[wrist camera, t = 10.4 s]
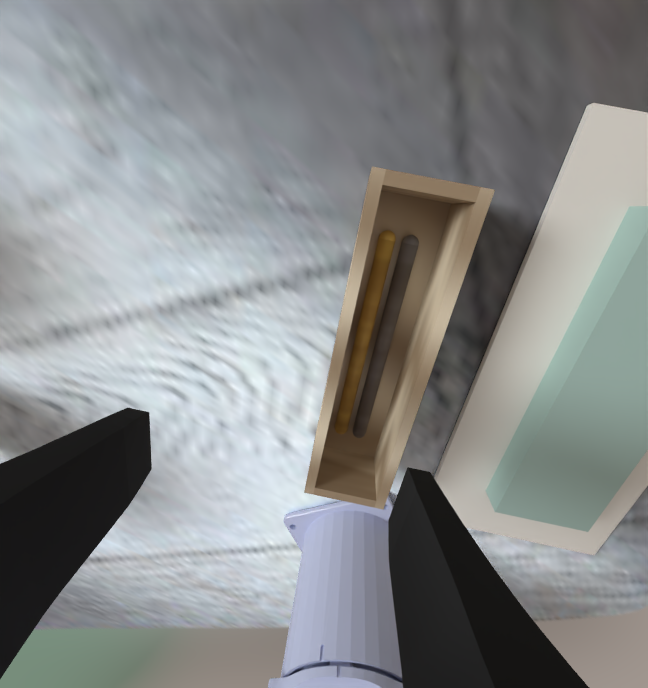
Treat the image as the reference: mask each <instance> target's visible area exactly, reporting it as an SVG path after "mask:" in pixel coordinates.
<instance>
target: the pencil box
mask: <svg viewBox="0 0 648 688" xmlns="http://www.w3.org/2000/svg"><path fill="white" fill-rule="evenodd" d="M494 191H495V190H493V189H487V188H482V187H477V186H472V185H466V184H461V183H456V182H450V181H445V180H440V179H435V178H429V177H424V176H419V175H414V174H408V173H403V172H398V171H393V170H387V169H382V168H377V167H372V169H371V172H370V176H369V181H368V185H367V190H366V195H365V200H364V205H363V210H362V214H361V219H360V224H359V229H358V234H357V238H356V243H355V248H354V253H353V258H352V263H351V267H350V272H349V277H348V282H347V287H346V291H345V296H344V301H343V306H342V311H341V316H340V320H339V325H338V330H337V335H336V340H335V345H334V349H333V354H332V359H331V364H330V369H329V373H328V378H327V383H326V388H325V393H324V398H323V402H322V407H321V412H320V417H319V422H318V426H317V431H316V436H315V441H314V446H313V451H312V456H311V461H310V466H309V471H308V476H307V481H306V486H305V491H304V493H309V494H314V495H318V496H323V497H328V498H332V499H337V500H341V501H346V502H351V503H355V504H360V505H364V506H369V507H374V508H378V509H384V506H385V503H386V501H387V498H388V495H389V492H390V489H391V486H392V483H393V480H394V478H395V475H396V472H397V469H398V466H399V463H400V460H401V458H402V455H403V452H404V449H405V446H406V443H407V440H408V437H409V435H410V432H411V429H412V426H413V423H414V420H415V417H416V415H417V412H418V409H419V406H420V403H421V400H422V397H423V394H424V392H425V389H426V386H427V383H428V380H429V377H430V374H431V372H432V369H433V366H434V363H435V360H436V357H437V354H438V351H439V349H440V346H441V343H442V340H443V337H444V334H445V331H446V329H447V326H448V323H449V320H450V317H451V314H452V311H453V308H454V306H455V303H456V300H457V297H458V294H459V291H460V288H461V286H462V283H463V280H464V277H465V274H466V271H467V268H468V265H469V263H470V260H471V257H472V254H473V251H474V248H475V245H476V243H477V240H478V237H479V234H480V231H481V228H482V225H483V222H484V220H485V217H486V214H487V211H488V208H489V205H490V202H491V200H492V197H493V194H494Z"/></svg>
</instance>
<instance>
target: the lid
mask: <svg viewBox="0 0 648 688" xmlns="http://www.w3.org/2000/svg"><path fill="white" fill-rule="evenodd" d="M647 450H648V206H629V208H628V210H627V212H626V214H625V216H624V218H623V220H622V222H621V224H620V226H619V228H618V230H617V232H616V234H615V236H614V238H613V240H612V242H611V244H610V246H609V248H608V250H607V252H606V254H605V256H604V258H603V260H602V262H601V264H600V266H599V268H598V270H597V272H596V274H595V276H594V278H593V279H592V281H591V283H590V285H589V287H588V289H587V291H586V293H585V295H584V297H583V299H582V301H581V303H580V305H579V307H578V309H577V311H576V313H575V315H574V317H573V319H572V321H571V323H570V325H569V327H568V329H567V331H566V333H565V335H564V337H563V339H562V341H561V343H560V345H559V347H558V349H557V351H556V353H555V355H554V357H553V359H552V361H551V362H550V364H549V366H548V368H547V370H546V372H545V374H544V376H543V378H542V380H541V382H540V384H539V386H538V388H537V390H536V392H535V394H534V396H533V398H532V400H531V402H530V404H529V406H528V408H527V410H526V412H525V414H524V416H523V418H522V420H521V422H520V424H519V426H518V428H517V430H516V432H515V434H514V436H513V438H512V440H511V442H510V444H509V445H508V447H507V449H506V451H505V453H504V455H503V457H502V459H501V461H500V463H499V465H498V467H497V469H496V471H495V473H494V475H493V477H492V479H491V481H490V483H489V485H488V487H487V489H486V493H487V495H488V498H489V500H490V502H491V504H492V507H493V509H494V511H495V512H497V513H502V514H506V515H511V516H516V517H520V518H525V519H530V520H534V521H539V522H544V523H548V524H553V525H558V526H562V527H567V528H572V529H576V530H581V531H586V532H589V530H590V529H591V527H592V526H593V525H594V523H595V522H596V521H597V519H598V518H599V516H600V515H601V514H602V512H603V511H604V509H605V508H606V507H607V505H608V504H609V503H610V501H611V500H612V498H613V497H614V496H615V494H616V493H617V492H618V490H619V489H620V487H621V486H622V485H623V483H624V482H625V480H626V479H627V478H628V476H629V475H630V474H631V472H632V471H633V469H634V468H635V467H636V465H637V464H638V463H639V461H640V460H641V458H642V457H643V456H644V454H645V453H646V452H647Z"/></svg>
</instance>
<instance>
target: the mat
mask: <svg viewBox="0 0 648 688" xmlns="http://www.w3.org/2000/svg"><path fill="white" fill-rule="evenodd" d="M629 206H648V113H646V112H640V111H635V110H629V109H624V108H618V107H613V106H607V105H602V104H596V103H592V104H590V105H588V106H587V107H586V109H585V112H584V114H583V117H582V119H581V122H580V124H579V126H578V129H577V131H576V134H575V136H574V138H573V141H572V143H571V146H570V148H569V151H568V153H567V155H566V158H565V160H564V163H563V165H562V168H561V170H560V172H559V175H558V177H557V180H556V182H555V185H554V187H553V189H552V192H551V194H550V197H549V199H548V202H547V204H546V206H545V209H544V211H543V214H542V216H541V219H540V221H539V223H538V226H537V228H536V231H535V233H534V236H533V238H532V240H531V243H530V245H529V248H528V250H527V253H526V255H525V257H524V260H523V262H522V265H521V267H520V269H519V272H518V274H517V277H516V279H515V282H514V284H513V286H512V289H511V291H510V294H509V296H508V299H507V301H506V303H505V306H504V308H503V311H502V313H501V316H500V318H499V320H498V323H497V325H496V328H495V330H494V333H493V335H492V337H491V340H490V342H489V345H488V347H487V350H486V352H485V354H484V357H483V359H482V362H481V364H480V367H479V369H478V371H477V374H476V376H475V379H474V381H473V383H472V386H471V388H470V391H469V393H468V396H467V398H466V400H465V403H464V405H463V408H462V410H461V413H460V415H459V417H458V420H457V422H456V425H455V427H454V430H453V432H452V434H451V437H450V439H449V442H448V444H447V447H446V449H445V451H444V454H443V456H442V459H441V461H440V464H439V466H438V468H437V471H436V473H435V476H434V479H435V481H436V482H437V484H438V485H439V487H440V488H441V490H442V492H443V493H444V495H445V496H446V498H447V499H448V501H449V503H450V504H451V506H452V507H453V509H454V510H455V512H456V513H457V515H458V516H459V518H460V520H461V521H462V523H463V524H464V526H465V527H466V528H470V529H475V530H480V531H484V532H489V533H493V534H498V535H503V536H507V537H512V538H516V539H521V540H526V541H530V542H535V543H540V544H544V545H549V546H553V547H558V548H563V549H567V550H572V551H576V552H581V553H586V554H590V555H595V554H596V552H597V551H598V550H599V548H600V547H601V546H602V545H603V543H604V542H605V541H606V539H607V538H608V537H609V535H610V534H611V533H612V532H613V530H614V529H615V528H616V526H617V525H618V524H619V522H620V521H621V520H622V519H623V517H624V516H625V515H626V513H627V512H628V511H629V509H630V508H631V507H632V505H633V504H634V503H635V502H636V500H637V499H638V498H639V496H640V495H641V494H642V492H643V491H644V490H645V489H646V487H647V486H648V450H647V452H646V453H645V454H644V456H643V457H642V458H641V460H640V461H639V463H638V464H637V465H636V467H635V468H634V469H633V471H632V472H631V474H630V475H629V476H628V478H627V479H626V480H625V482H624V483H623V485H622V486H621V487H620V489H619V490H618V492H617V493H616V494H615V496H614V497H613V498H612V500H611V501H610V503H609V504H608V505H607V507H606V508H605V509H604V511H603V512H602V514H601V515H600V516H599V518H598V519H597V521H596V522H595V523H594V525H593V526H592V527H591V529H590V530H589V532H586V531H581V530H576V529H572V528H567V527H562V526H558V525H553V524H548V523H544V522H539V521H534V520H530V519H525V518H520V517H516V516H511V515H506V514H502V513H497V512H495V511H494V509H493V507H492V504H491V502H490V500H489V498H488V495H487V493H486V489H487V487H488V485H489V483H490V481H491V479H492V477H493V475H494V473H495V471H496V469H497V467H498V465H499V463H500V461H501V459H502V457H503V455H504V453H505V451H506V449H507V447H508V445H509V444H510V442H511V440H512V438H513V436H514V434H515V432H516V430H517V428H518V426H519V424H520V422H521V420H522V418H523V416H524V414H525V412H526V410H527V408H528V406H529V404H530V402H531V400H532V398H533V396H534V394H535V392H536V390H537V388H538V386H539V384H540V382H541V380H542V378H543V376H544V374H545V372H546V370H547V368H548V366H549V364H550V362H551V361H552V359H553V357H554V355H555V353H556V351H557V349H558V347H559V345H560V343H561V341H562V339H563V337H564V335H565V333H566V331H567V329H568V327H569V325H570V323H571V321H572V319H573V317H574V315H575V313H576V311H577V309H578V307H579V305H580V303H581V301H582V299H583V297H584V295H585V293H586V291H587V289H588V287H589V285H590V283H591V281H592V279H593V278H594V276H595V274H596V272H597V270H598V268H599V266H600V264H601V262H602V260H603V258H604V256H605V254H606V252H607V250H608V248H609V246H610V244H611V242H612V240H613V238H614V236H615V234H616V232H617V230H618V228H619V226H620V224H621V222H622V220H623V218H624V216H625V214H626V212H627V210H628V208H629Z"/></svg>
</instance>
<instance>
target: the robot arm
mask: <svg viewBox="0 0 648 688" xmlns="http://www.w3.org/2000/svg"><path fill="white" fill-rule="evenodd" d="M151 469H152V468H151V444H150V421H149V412H145V411H140V410H136V409H131V408H126V409H124V410H121V411H119V412H116V413H114V414H112V415H110V416H107V417H105V418H103V419H101V420H98V421H96V422H94V423H92V424H90V425H87V426H85V427H83V428H81V429H79V430H77V431H74V432H72V433H70V434H68V435H66V436H63V437H61V438H59V439H57V440H54V441H52V442H50V443H48V444H46V445H43V446H41V447H39V448H37V449H35V450H32V451H30V452H28V453H25V454H23V455H20V456H18V457H16V458H13V459H11V460H8V461H6V462H4V463H1V464H0V679H1V677H2V676H3V674H4V673H5V671H6V669H7V668H8V667H9V665H10V664H11V662H12V661H13V659H14V658H15V656H16V655H17V653H18V652H19V650H20V649H21V647H22V646H23V644H24V643H25V641H26V640H27V638H28V637H29V635H30V634H31V633H32V631H33V630H34V628H35V627H36V625H37V624H38V622H39V621H40V619H41V618H42V616H43V615H44V614H45V612H46V611H47V609H48V608H49V607H50V605H51V604H52V603H53V601H54V600H55V599H56V597H57V596H58V595H59V593H60V592H61V591H62V589H63V588H64V587H65V586H66V584H67V583H68V582H69V581H70V579H71V578H72V577H73V576H74V574H75V573H76V572H77V571H78V569H79V568H80V567H81V565H82V564H83V563H84V562H85V560H86V559H87V558H88V557H89V555H90V554H91V553H92V552H93V550H94V549H95V548H96V547H97V545H98V544H99V543H100V542H101V540H102V539H103V538H104V537H105V535H106V534H107V533H108V531H109V530H110V529H111V528H112V526H113V525H114V524H115V522H116V521H117V520H118V519H119V517H120V516H121V515H122V514H123V512H124V511H125V510H126V508H127V507H128V506H129V504H130V503H131V501H132V500H133V498H134V497H135V495H136V494H137V492H138V490H139V489H140V487H141V486H142V484H143V482H144V481H145V479H146V477H147V476H148V474H149V472H150V471H151ZM284 523H285V525H286V527H287V528H288V530H289V532H290V533H291V535H292V537H293V538H294V540H295V541H296V543H297V545H298V546H299V548H300V550H301V551H302V555H301V561H300V567H299V573H298V579H297V585H296V591H295V597H294V602H293V608H292V614H291V620H290V626H289V632H288V639H287V644H286V650H285V656H284V661H283V668H282V674H281V678H271V679H270V680H269V685H268V688H589V687H588V686H587V685H586V684H585V682H584V681H583V680H582V679H581V678H580V677H579V676H578V674H577V673H576V672H575V671H574V670H573V669H572V667H571V666H570V665H569V664H568V663H567V661H566V660H565V659H564V658H563V656H562V655H561V654H560V653H559V652H558V650H557V649H556V648H555V647H554V646H553V644H552V643H551V642H550V641H549V639H548V638H547V637H546V636H545V635H544V633H543V632H542V631H541V630H540V629H539V627H538V626H537V625H536V624H535V622H534V621H533V620H532V619H531V617H530V616H529V615H528V613H527V612H526V611H525V610H524V608H523V607H522V606H521V604H520V603H519V602H518V600H517V599H516V598H515V596H514V595H513V594H512V592H511V591H510V590H509V588H508V587H507V586H506V584H505V583H504V582H503V580H502V579H501V578H500V576H499V575H498V574H497V572H496V571H495V569H494V568H493V567H492V565H491V564H490V562H489V561H488V560H487V558H486V557H485V555H484V554H483V552H482V551H481V549H480V548H479V546H478V545H477V544H476V542H475V541H474V539H473V538H472V536H471V535H470V533H469V532H468V530H467V529H466V527H465V526H464V524H463V523H462V521H461V520H460V518H459V516H458V515H457V513H456V512H455V510H454V509H453V507H452V506H451V504H450V503H449V501H448V499H447V498H446V496H445V495H444V493H443V492H442V490H441V488H440V487H439V485H438V484H437V482H436V481H435V479H434V477H433V476H432V474H431V473H430V472H427V471H422V470H417V469H413V468H407V471H406V473H405V476H404V479H403V482H402V484H401V487H400V490H399V493H398V495H397V498H396V501H395V504H394V506H393V504H392V501H391V499H390V497H389V495H388V498H387V501H386V503H385V506H384V509H378V508H374V507H369V506H364V505H360V504H355V503H351V502H346V501H341V502H336V503H332V504H327V505H323V506H319V507H314V508H310V509H305V510H301V511H297V512H292V513H288V514H286V515H285V517H284Z"/></svg>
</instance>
